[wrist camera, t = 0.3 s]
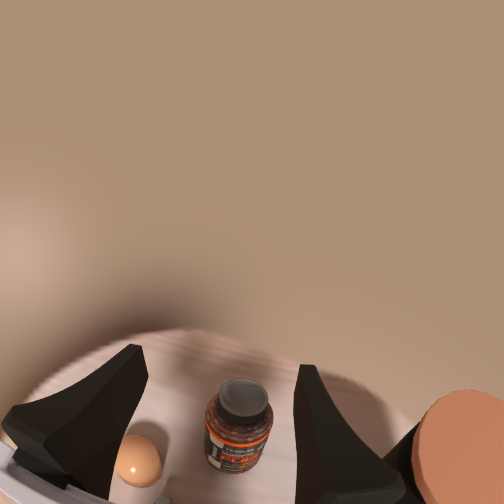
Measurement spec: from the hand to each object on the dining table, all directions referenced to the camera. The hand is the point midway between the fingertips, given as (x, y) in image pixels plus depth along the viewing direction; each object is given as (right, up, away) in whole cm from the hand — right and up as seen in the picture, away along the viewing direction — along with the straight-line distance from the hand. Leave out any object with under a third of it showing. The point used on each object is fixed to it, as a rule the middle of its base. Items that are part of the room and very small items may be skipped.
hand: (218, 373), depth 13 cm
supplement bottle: (-1, -16, +14) cm, 22 cm away
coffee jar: (+13, -22, +5) cm, 26 cm away
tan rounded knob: (-10, -17, +10) cm, 22 cm away
